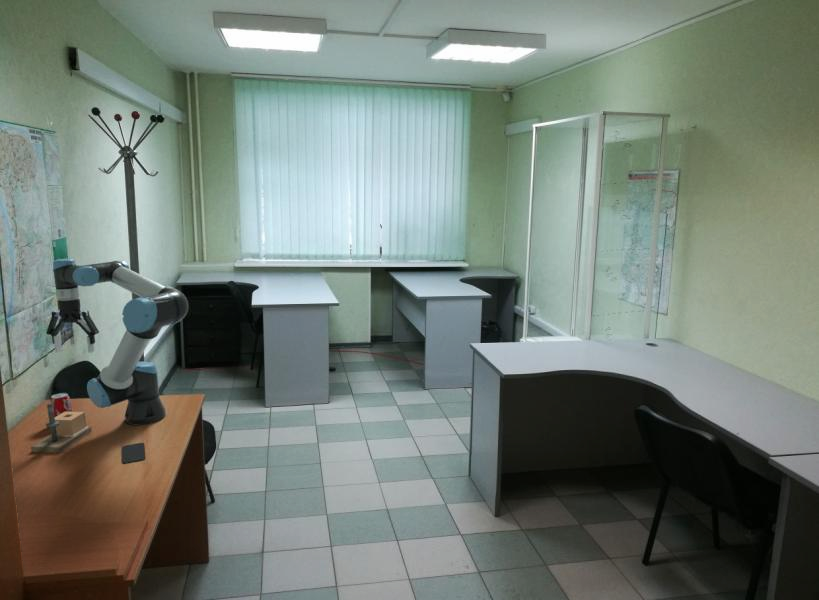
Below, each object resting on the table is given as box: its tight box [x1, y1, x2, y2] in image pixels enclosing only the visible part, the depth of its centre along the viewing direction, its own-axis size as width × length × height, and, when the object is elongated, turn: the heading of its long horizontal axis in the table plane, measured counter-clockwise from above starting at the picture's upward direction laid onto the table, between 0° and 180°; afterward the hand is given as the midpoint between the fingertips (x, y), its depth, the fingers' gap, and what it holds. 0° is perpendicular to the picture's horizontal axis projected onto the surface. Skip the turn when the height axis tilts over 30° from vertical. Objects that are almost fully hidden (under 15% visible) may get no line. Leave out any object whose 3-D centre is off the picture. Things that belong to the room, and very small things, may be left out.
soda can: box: [49, 392, 73, 417], centre depth 235 cm, size 7×7×12 cm
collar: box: [55, 411, 87, 435], centre depth 223 cm, size 8×8×6 cm
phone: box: [121, 442, 146, 465], centre depth 209 cm, size 7×1×15 cm
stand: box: [30, 403, 93, 454], centre depth 218 cm, size 11×18×16 cm, turn 175°
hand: (75, 351), depth 234 cm, fingers open, 13 cm apart
